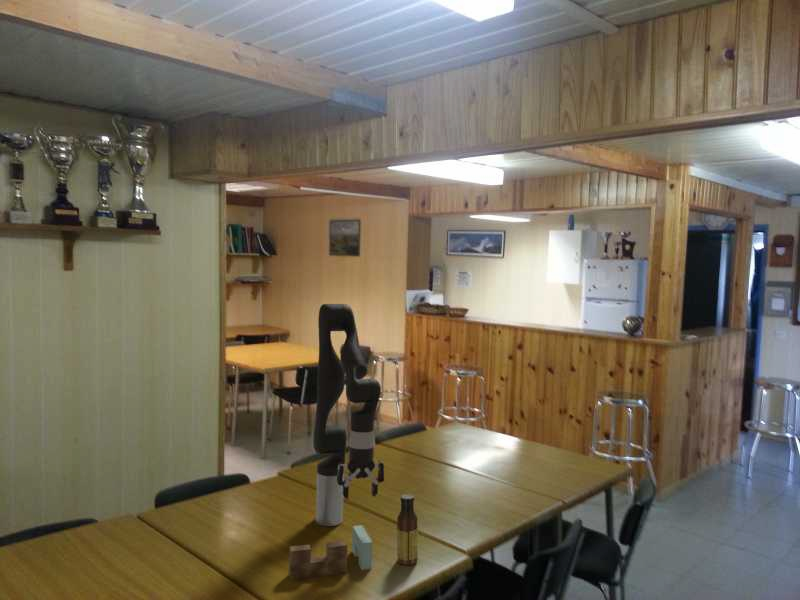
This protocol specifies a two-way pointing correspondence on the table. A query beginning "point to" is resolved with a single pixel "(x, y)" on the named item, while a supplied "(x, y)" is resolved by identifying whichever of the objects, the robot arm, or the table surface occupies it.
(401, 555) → the sauce bottle
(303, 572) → the walnut u-shaped block
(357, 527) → the teal board
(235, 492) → the table surface
